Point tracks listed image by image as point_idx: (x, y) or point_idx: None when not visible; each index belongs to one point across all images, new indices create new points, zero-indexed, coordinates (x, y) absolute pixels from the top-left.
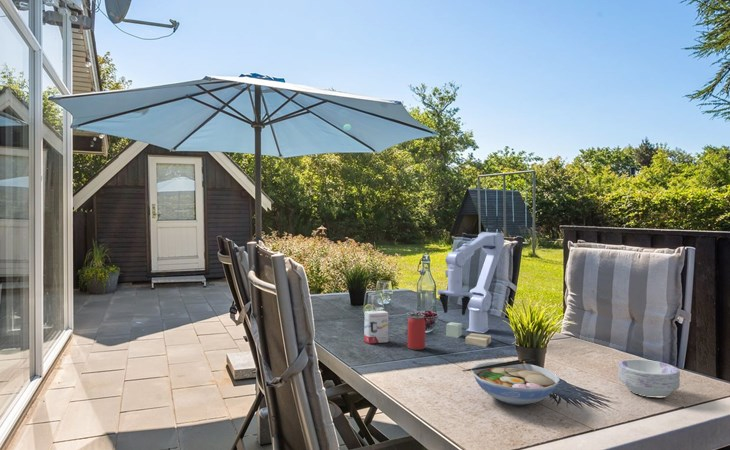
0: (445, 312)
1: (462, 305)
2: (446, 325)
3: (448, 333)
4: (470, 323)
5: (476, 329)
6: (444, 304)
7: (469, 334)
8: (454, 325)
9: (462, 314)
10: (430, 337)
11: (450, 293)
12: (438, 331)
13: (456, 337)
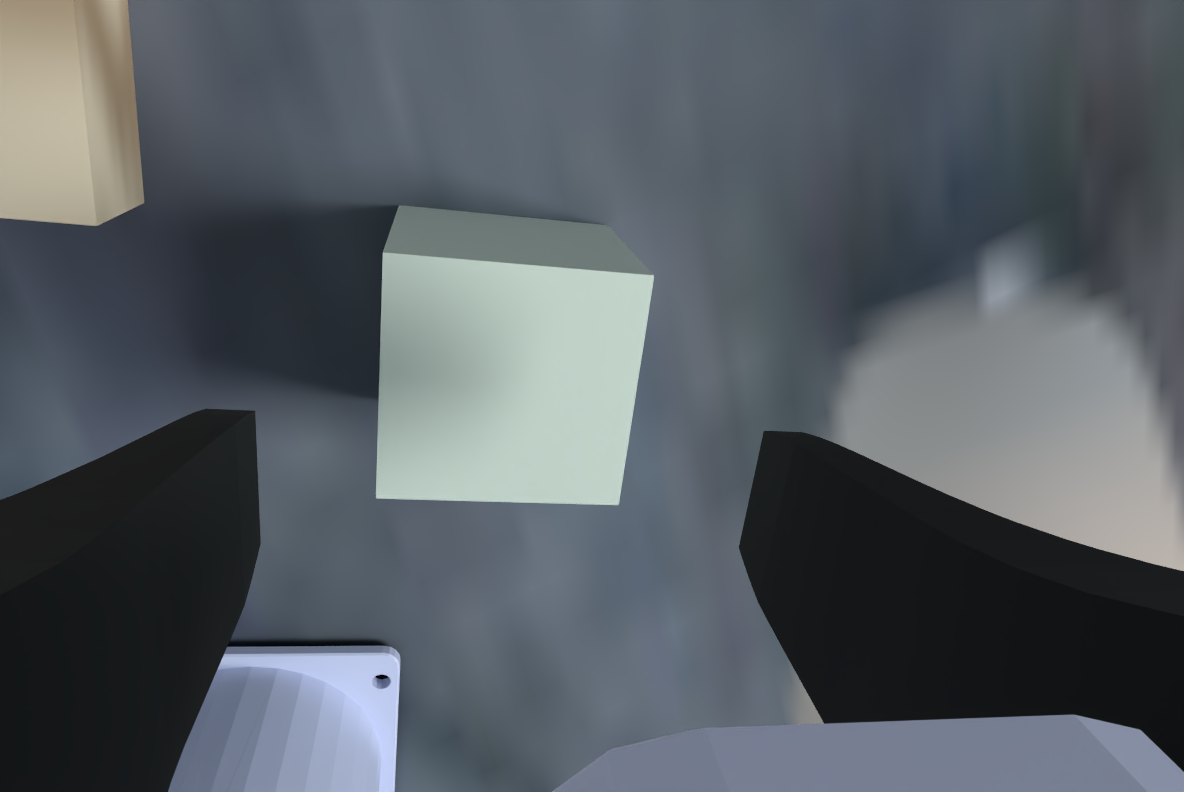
0: (775, 432)
1: (99, 524)
2: (646, 270)
3: (575, 231)
4: (327, 769)
5: (224, 688)
6: (936, 519)
7: (77, 66)
8: (468, 258)
9: (237, 413)
10: (840, 8)
11: (1161, 786)
12: None
13: (423, 209)
